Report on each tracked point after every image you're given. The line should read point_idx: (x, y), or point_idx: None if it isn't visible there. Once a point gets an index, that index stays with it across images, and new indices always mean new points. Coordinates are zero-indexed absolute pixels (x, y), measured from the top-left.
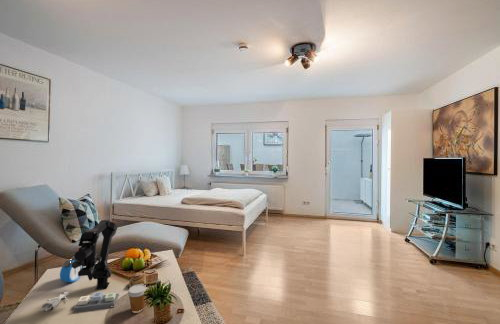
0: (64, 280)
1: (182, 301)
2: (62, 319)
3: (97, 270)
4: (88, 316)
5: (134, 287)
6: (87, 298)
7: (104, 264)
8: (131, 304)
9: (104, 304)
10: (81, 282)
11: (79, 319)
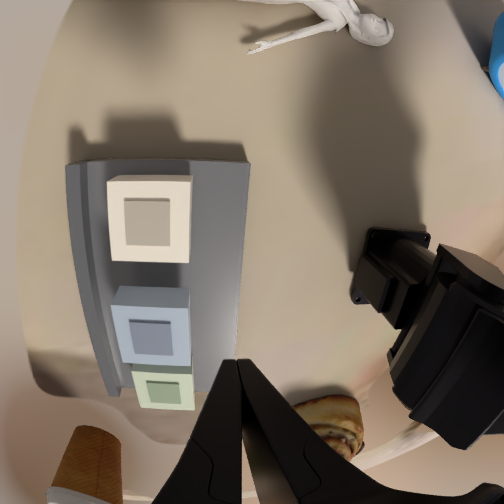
0: (495, 31)
1: (145, 496)
2: (29, 119)
3: (456, 363)
4: (37, 273)
5: None
6: (140, 253)
7: (463, 444)
8: (64, 456)
9: (97, 357)
10: (481, 122)
11: (16, 230)
